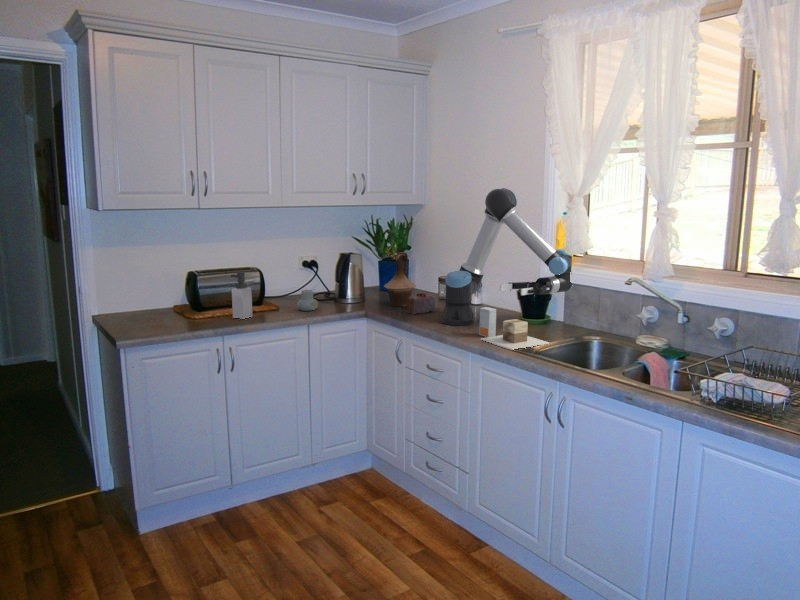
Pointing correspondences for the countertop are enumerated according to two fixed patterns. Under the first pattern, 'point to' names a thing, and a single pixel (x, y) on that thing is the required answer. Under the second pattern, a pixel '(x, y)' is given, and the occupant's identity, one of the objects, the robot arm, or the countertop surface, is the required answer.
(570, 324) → the countertop surface
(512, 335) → the lower block
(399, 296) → the brown vase
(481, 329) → the skincare box
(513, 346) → the plate
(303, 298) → the air freshener
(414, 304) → the food item
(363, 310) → the countertop surface
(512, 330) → the upper block
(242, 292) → the soap dispenser
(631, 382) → the countertop surface
